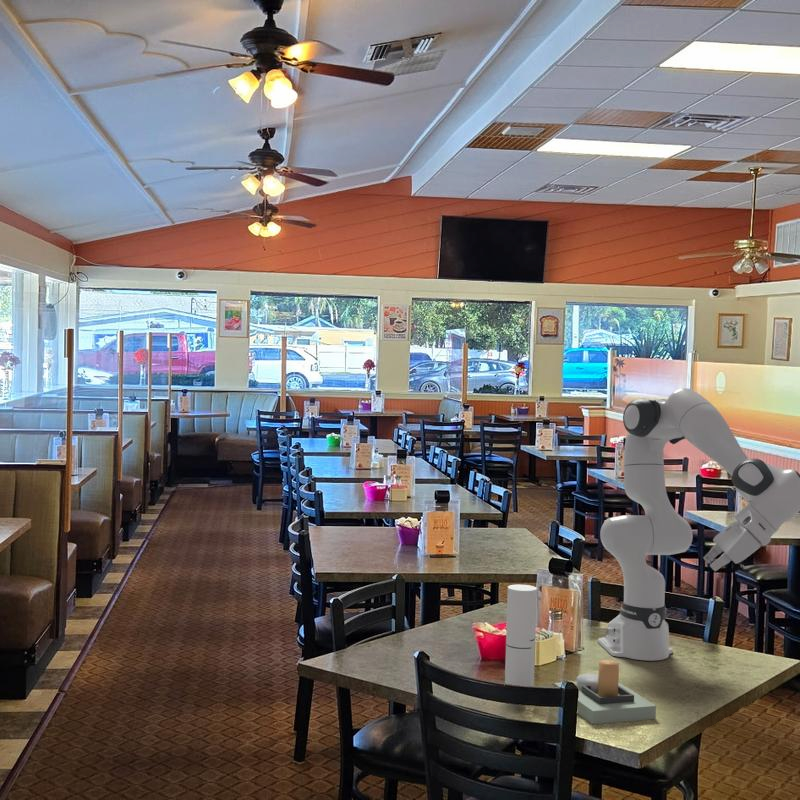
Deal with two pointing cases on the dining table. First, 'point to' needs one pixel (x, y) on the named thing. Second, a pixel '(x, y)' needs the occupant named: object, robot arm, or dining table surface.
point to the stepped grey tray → (610, 703)
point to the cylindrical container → (520, 635)
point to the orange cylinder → (608, 678)
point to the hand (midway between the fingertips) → (708, 564)
